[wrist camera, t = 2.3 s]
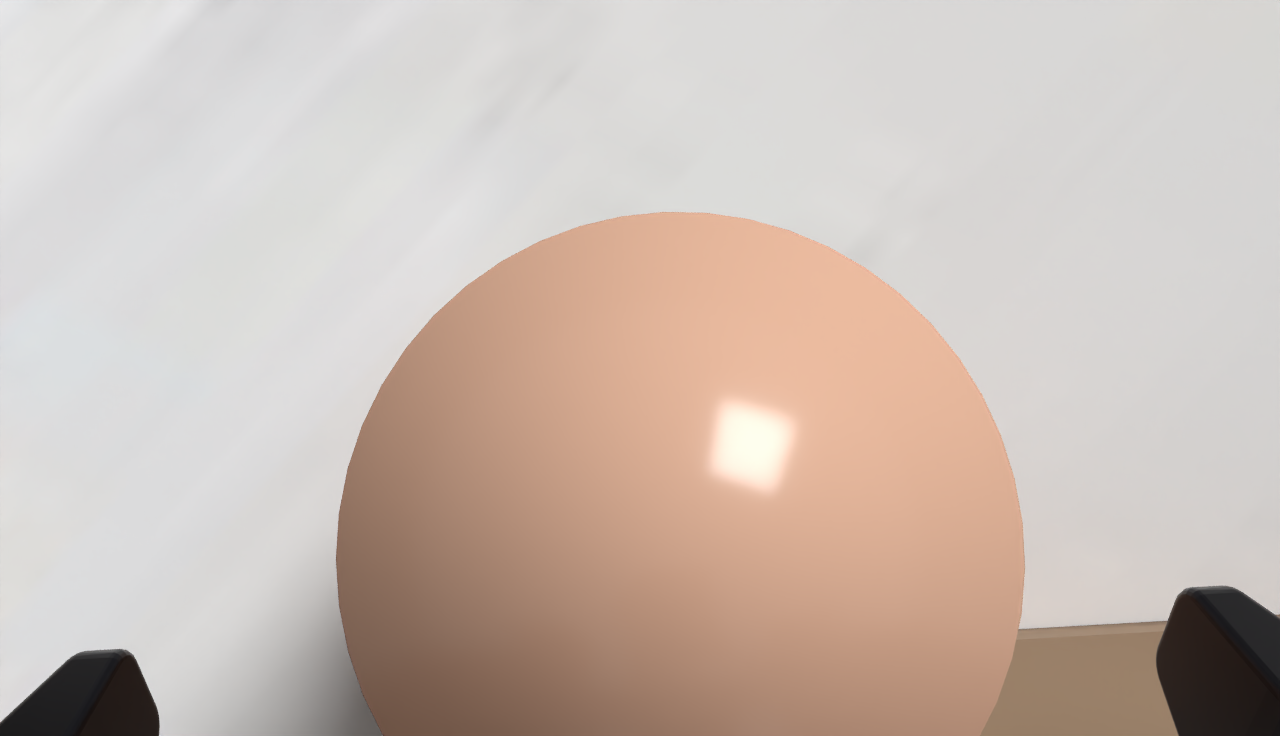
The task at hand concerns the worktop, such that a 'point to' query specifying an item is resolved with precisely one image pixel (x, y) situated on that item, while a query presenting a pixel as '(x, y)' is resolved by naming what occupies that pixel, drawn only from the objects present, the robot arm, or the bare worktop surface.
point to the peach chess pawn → (680, 501)
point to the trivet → (1084, 683)
